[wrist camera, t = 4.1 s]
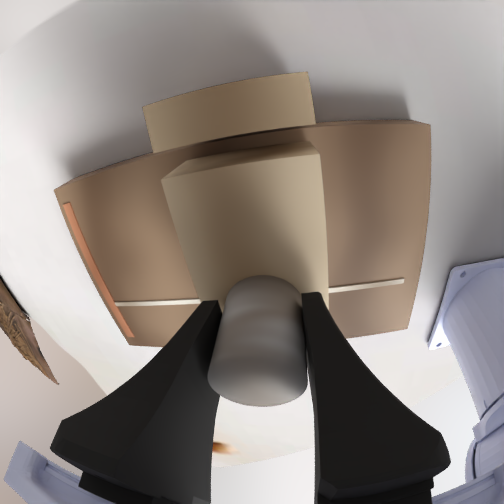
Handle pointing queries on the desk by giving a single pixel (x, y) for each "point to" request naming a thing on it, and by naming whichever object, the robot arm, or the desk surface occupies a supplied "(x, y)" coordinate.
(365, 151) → the board
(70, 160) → the desk surface
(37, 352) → the wooden fragment
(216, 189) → the beige block with knob
